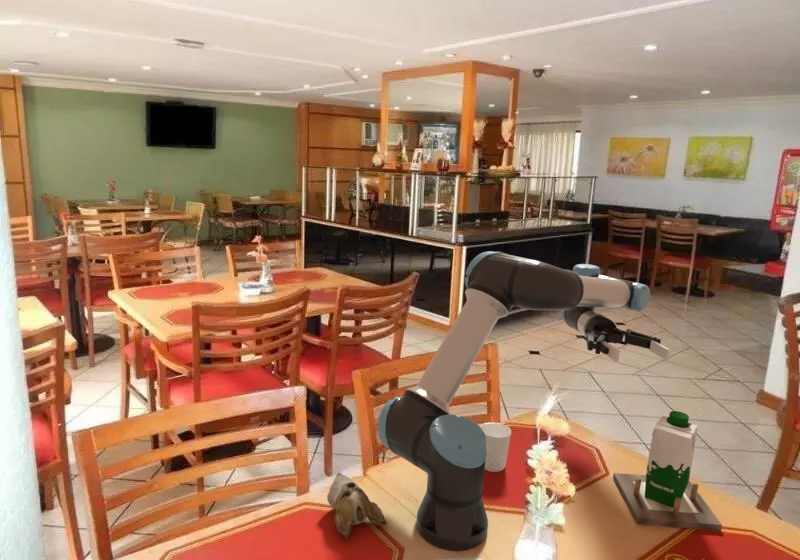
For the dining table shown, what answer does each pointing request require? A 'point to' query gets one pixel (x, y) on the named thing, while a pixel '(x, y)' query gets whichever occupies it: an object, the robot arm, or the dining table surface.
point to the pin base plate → (650, 512)
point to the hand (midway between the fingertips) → (643, 355)
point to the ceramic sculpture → (351, 505)
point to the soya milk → (670, 458)
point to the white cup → (496, 445)
